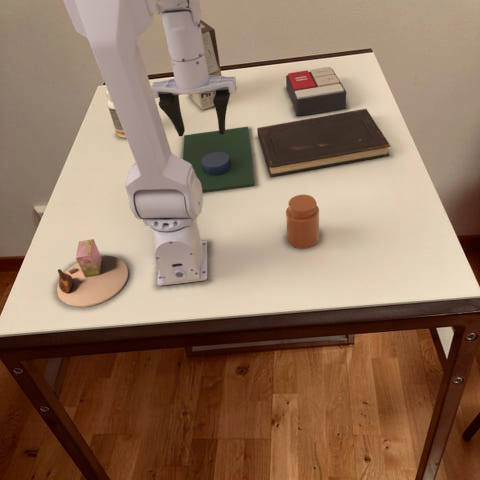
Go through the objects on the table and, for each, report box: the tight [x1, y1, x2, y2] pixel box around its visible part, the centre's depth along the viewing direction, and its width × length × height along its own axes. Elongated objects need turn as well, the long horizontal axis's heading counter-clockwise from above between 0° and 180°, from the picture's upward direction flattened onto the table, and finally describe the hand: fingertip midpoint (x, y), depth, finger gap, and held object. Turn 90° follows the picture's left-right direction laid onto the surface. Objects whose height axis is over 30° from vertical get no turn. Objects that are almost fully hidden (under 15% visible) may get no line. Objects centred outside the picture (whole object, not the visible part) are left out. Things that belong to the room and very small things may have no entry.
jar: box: [285, 194, 320, 249], centre depth 81 cm, size 5×5×7 cm
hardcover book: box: [256, 108, 391, 178], centre depth 101 cm, size 16×23×2 cm
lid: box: [201, 152, 231, 176], centre depth 100 cm, size 6×6×2 cm
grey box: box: [285, 66, 347, 117], centre depth 115 cm, size 11×4×15 cm
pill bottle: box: [105, 89, 127, 139], centre depth 112 cm, size 6×6×10 cm
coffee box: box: [189, 19, 222, 111], centre depth 116 cm, size 9×6×16 cm
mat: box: [182, 126, 255, 194], centre depth 103 cm, size 22×14×1 cm, turn 3°
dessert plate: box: [56, 239, 130, 308], centre depth 82 cm, size 12×12×4 cm
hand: (202, 132), depth 93 cm, fingers open, 7 cm apart
